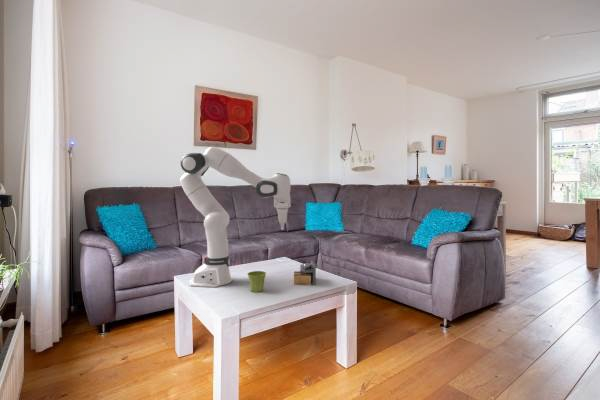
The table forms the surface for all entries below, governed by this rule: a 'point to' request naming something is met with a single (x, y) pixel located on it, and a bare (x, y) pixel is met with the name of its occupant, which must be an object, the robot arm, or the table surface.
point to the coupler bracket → (309, 270)
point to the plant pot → (256, 280)
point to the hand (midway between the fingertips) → (282, 229)
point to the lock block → (302, 278)
